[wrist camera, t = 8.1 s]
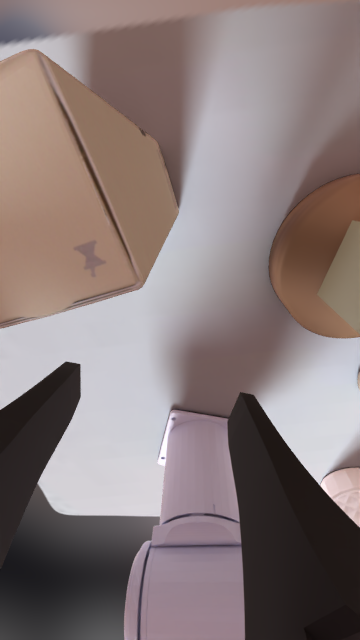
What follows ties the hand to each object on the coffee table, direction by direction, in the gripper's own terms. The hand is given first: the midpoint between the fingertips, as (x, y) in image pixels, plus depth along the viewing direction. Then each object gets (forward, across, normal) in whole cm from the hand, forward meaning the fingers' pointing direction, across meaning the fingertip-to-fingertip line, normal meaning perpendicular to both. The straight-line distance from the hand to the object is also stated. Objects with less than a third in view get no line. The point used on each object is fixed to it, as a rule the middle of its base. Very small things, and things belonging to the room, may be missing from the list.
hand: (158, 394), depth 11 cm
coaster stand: (+10, -11, -6) cm, 16 cm away
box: (+10, +4, -7) cm, 13 cm away
